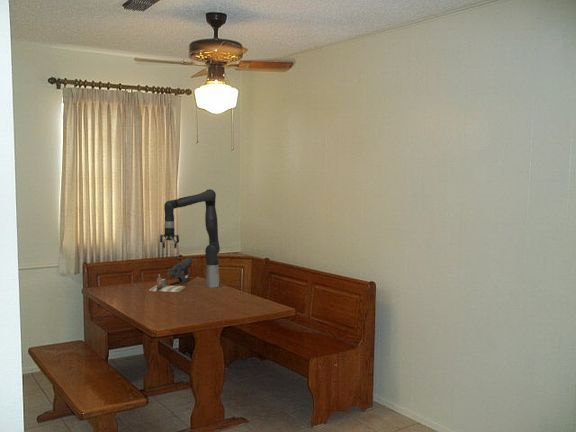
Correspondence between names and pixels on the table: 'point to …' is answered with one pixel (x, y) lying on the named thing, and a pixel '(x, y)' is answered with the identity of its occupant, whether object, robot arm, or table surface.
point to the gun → (181, 270)
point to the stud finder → (164, 283)
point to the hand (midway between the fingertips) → (169, 248)
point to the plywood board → (169, 288)
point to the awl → (159, 282)
